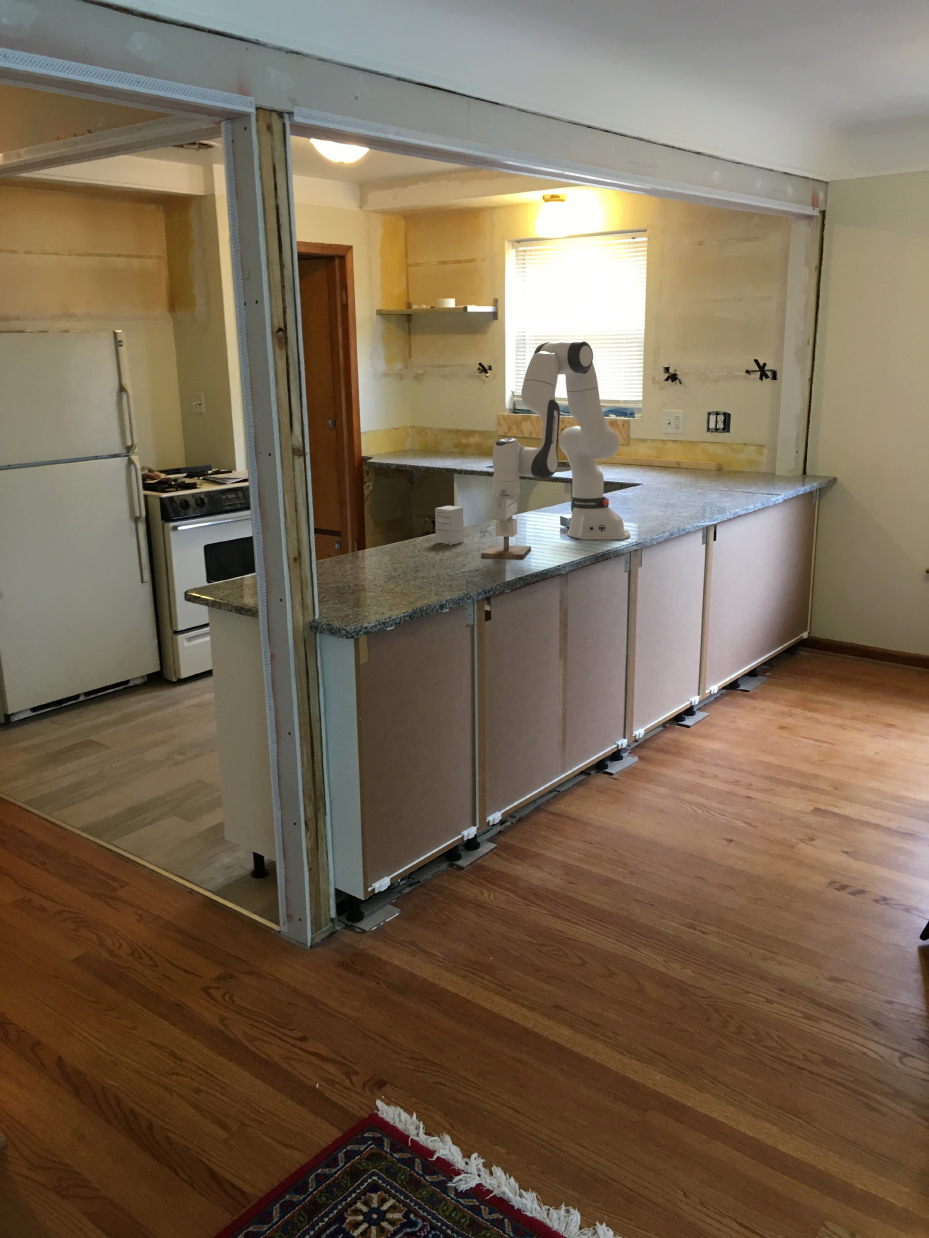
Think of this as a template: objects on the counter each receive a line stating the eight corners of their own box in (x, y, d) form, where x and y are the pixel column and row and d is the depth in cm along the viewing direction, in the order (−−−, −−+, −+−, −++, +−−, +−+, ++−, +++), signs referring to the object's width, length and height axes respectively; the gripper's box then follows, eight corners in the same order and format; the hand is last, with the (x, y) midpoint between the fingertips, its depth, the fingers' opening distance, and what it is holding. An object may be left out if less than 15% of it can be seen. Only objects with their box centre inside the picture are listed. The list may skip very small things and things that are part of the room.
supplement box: (448, 539, 359) (447, 505, 355) (464, 542, 354) (463, 507, 351) (435, 543, 353) (434, 507, 350) (451, 545, 349) (450, 509, 345)
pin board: (530, 550, 338) (530, 533, 336) (522, 559, 325) (522, 541, 323) (490, 549, 341) (490, 531, 340) (481, 557, 328) (481, 539, 327)
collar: (517, 533, 333) (516, 518, 332) (513, 536, 328) (513, 521, 326) (499, 533, 335) (499, 518, 334) (495, 536, 329) (495, 521, 328)
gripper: (509, 493, 317) (509, 536, 320) (521, 484, 336) (521, 525, 339) (489, 492, 318) (490, 535, 322) (503, 484, 337) (503, 524, 341)
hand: (506, 530), depth 331 cm, fingers closed on collar, 6 cm apart
